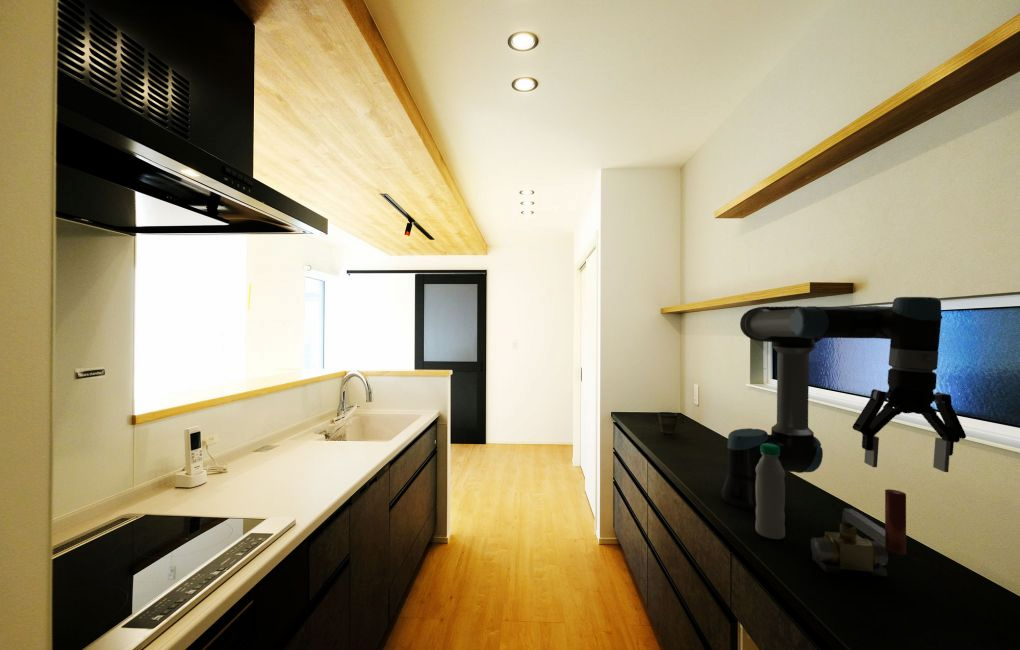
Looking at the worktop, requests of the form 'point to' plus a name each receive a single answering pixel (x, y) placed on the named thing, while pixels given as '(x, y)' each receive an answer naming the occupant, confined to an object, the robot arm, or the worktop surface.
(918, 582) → the worktop surface
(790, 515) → the worktop surface
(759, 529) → the water bottle
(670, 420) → the ceramic cup
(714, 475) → the worktop surface
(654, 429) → the worktop surface
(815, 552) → the valve body
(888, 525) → the valve lever
